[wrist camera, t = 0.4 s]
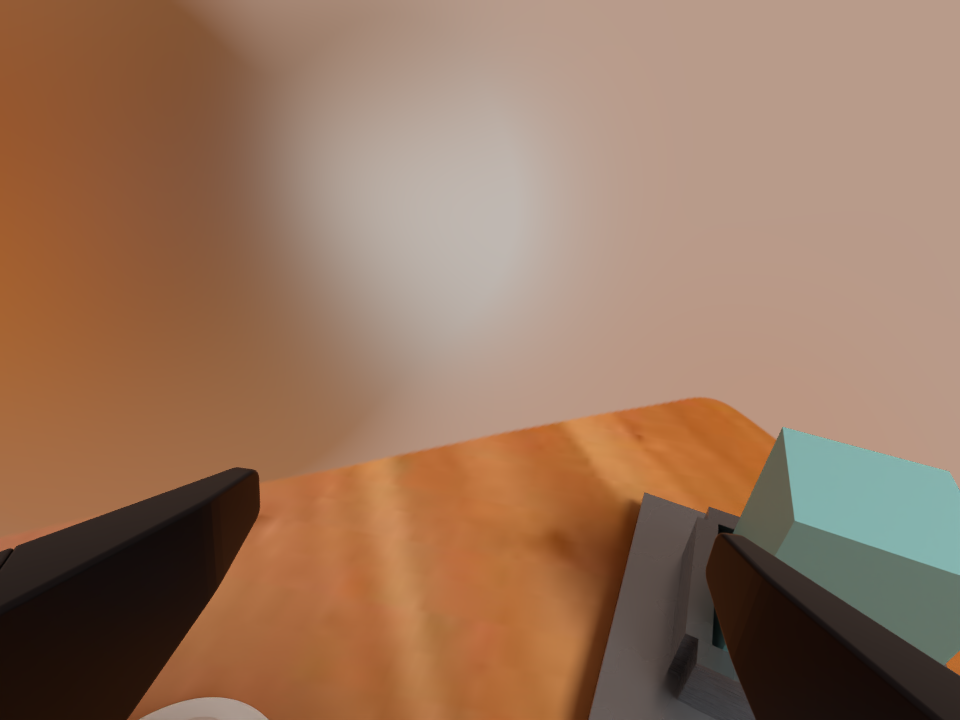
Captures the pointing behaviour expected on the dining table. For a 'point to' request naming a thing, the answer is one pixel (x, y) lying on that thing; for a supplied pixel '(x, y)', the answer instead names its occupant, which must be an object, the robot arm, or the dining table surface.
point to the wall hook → (207, 710)
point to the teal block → (863, 534)
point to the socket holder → (668, 625)
